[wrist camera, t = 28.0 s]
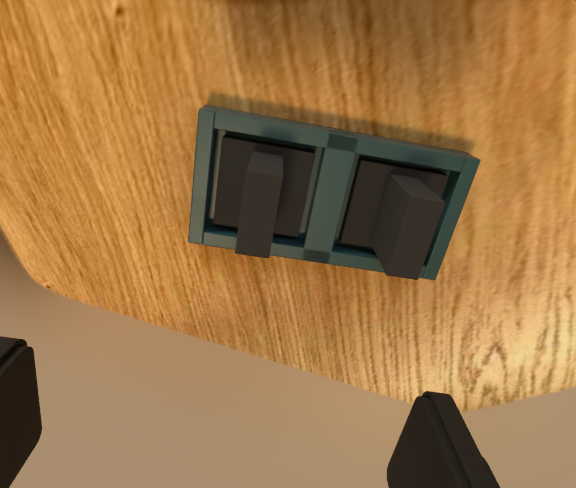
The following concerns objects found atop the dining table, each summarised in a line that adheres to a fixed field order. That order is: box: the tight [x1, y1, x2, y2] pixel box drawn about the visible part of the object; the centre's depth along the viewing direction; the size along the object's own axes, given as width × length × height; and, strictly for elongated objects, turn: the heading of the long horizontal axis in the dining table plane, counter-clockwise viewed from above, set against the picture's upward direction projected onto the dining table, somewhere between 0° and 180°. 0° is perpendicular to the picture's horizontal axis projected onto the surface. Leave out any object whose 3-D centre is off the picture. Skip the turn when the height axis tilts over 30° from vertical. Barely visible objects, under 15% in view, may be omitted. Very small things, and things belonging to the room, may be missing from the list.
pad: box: [213, 134, 315, 258], centre depth 25 cm, size 6×6×6 cm
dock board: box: [188, 105, 480, 280], centre depth 28 cm, size 18×9×2 cm, turn 80°
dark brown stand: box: [339, 157, 448, 280], centre depth 26 cm, size 6×6×6 cm
